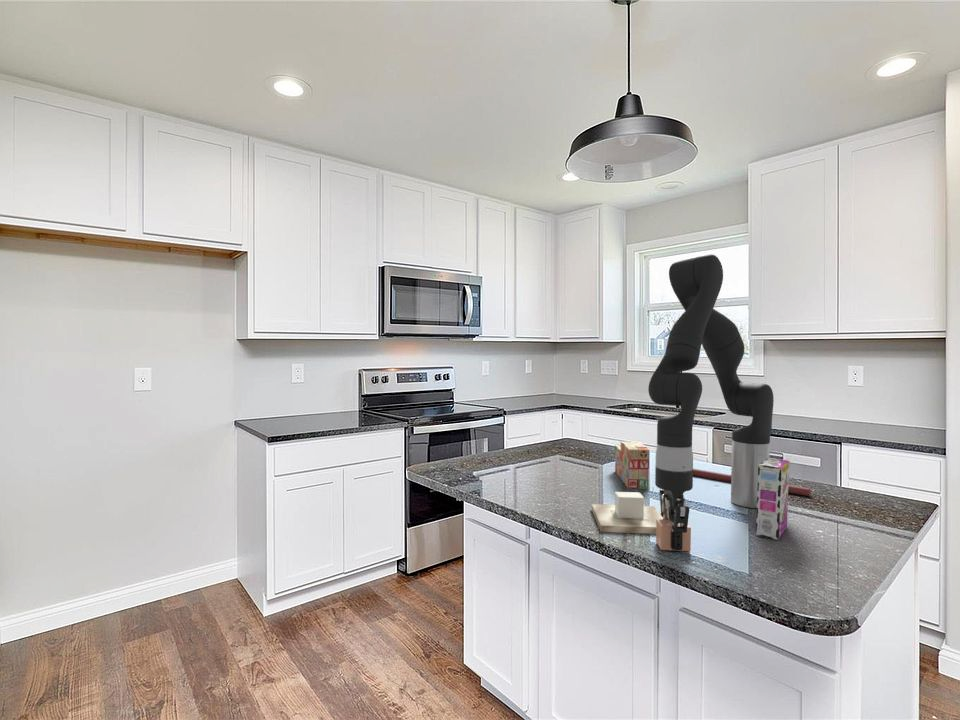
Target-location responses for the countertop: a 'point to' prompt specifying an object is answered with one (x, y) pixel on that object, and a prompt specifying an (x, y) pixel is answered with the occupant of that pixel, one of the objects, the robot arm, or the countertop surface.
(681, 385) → the robot arm
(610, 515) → the ash board
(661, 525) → the terracotta brick
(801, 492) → the rolling pin
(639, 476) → the stack of blocks
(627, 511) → the cream brick
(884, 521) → the countertop surface
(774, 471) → the candy bar box
